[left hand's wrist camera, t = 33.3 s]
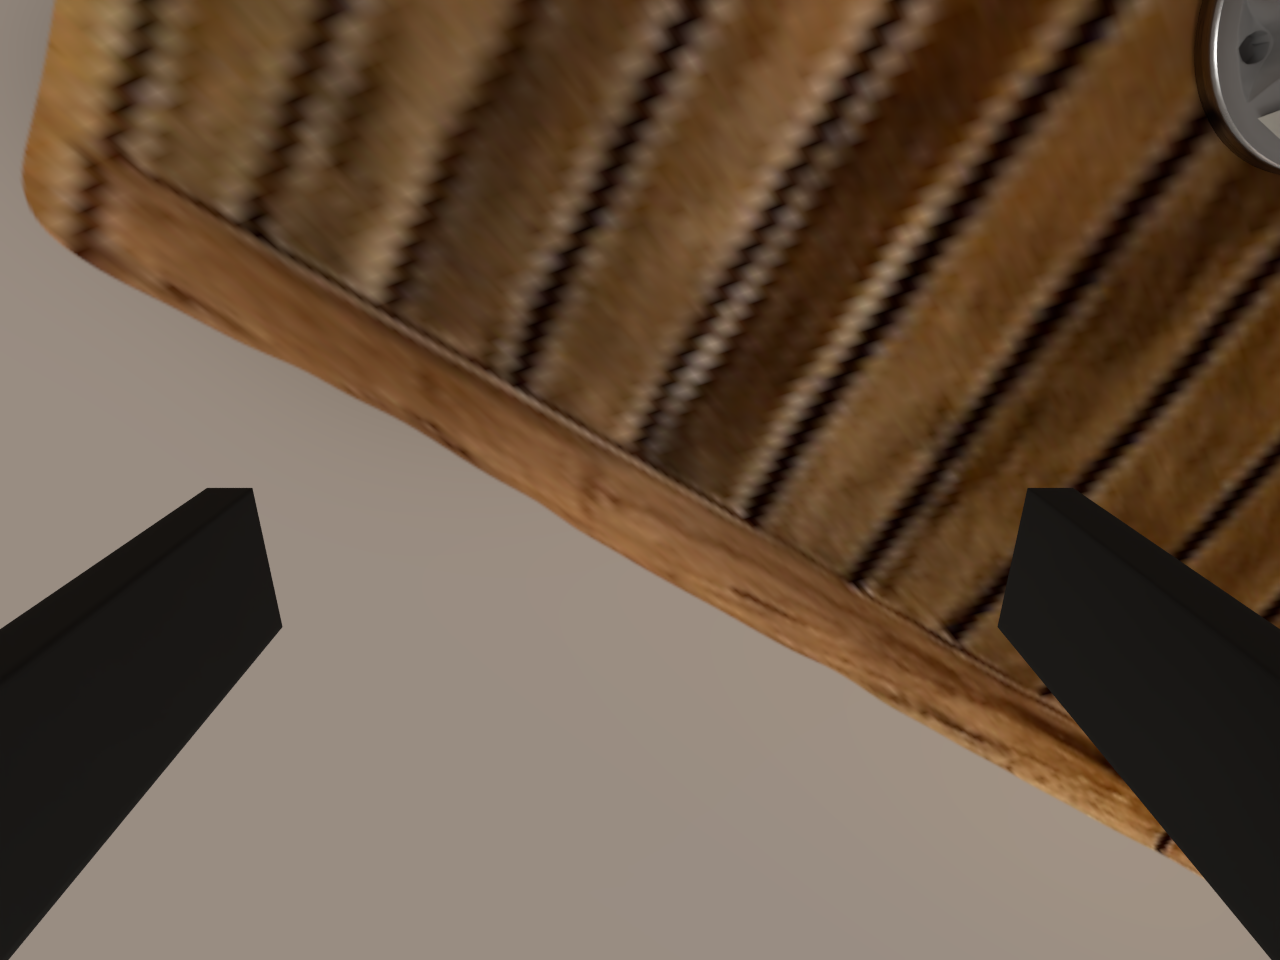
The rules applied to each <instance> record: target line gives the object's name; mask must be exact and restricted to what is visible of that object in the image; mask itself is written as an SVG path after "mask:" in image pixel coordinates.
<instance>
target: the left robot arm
mask: <svg viewBox="0 0 1280 960" xmlns="http://www.w3.org/2000/svg"><path fill="white" fill-rule="evenodd" d="M1195 74H1196V82H1197V88H1198V93H1199V97H1200V100H1201V103H1202V107H1203V109H1204V112H1205V114H1206V116H1207V119H1208V121H1209V123H1210V124H1211V126H1212V128H1213V129H1214V131H1215V133H1216V134H1217V135H1218V137H1219V138H1220V139H1221V140H1222V142H1223V143H1224V144H1225V145H1226V146H1227V147H1228V148H1229V149H1230V150H1231V151H1232V152H1233V153H1234V154H1236V155H1237V156H1238V157H1240V158H1241V159H1242V160H1244V161H1246V162H1248V163H1249V164H1251V165H1253V166H1255V167H1257V168H1260V169H1262V170H1265V171H1268V172H1272V173H1275V174H1279V175H1280V0H1203V2H1202V6H1201V9H1200V13H1199V19H1198V24H1197V30H1196V40H1195ZM281 628H282V623H281V618H280V614H279V609H278V604H277V600H276V595H275V590H274V586H273V581H272V577H271V572H270V567H269V563H268V558H267V554H266V549H265V544H264V540H263V535H262V530H261V526H260V521H259V517H258V512H257V507H256V503H255V498H254V494H253V489H252V488H206V489H205V490H204V491H202V492H201V493H199V494H198V495H196V496H195V497H193V498H192V499H190V500H189V501H187V502H186V503H184V504H183V505H182V506H180V507H179V508H177V509H176V510H174V511H173V512H171V513H170V514H168V515H167V516H165V517H164V518H162V519H161V520H160V521H158V522H157V523H155V524H154V525H152V526H151V527H149V528H148V529H146V530H145V531H143V532H142V533H141V534H139V535H138V536H136V537H135V538H133V539H132V540H130V541H129V542H127V543H126V544H124V545H123V546H121V547H120V548H119V549H117V550H116V551H114V552H113V553H111V554H110V555H108V556H107V557H105V558H104V559H102V560H101V561H99V562H98V563H97V564H95V565H94V566H92V567H91V568H89V569H88V570H86V571H85V572H83V573H82V574H80V575H79V576H78V577H76V578H75V579H73V580H72V581H70V582H69V583H67V584H66V585H64V586H63V587H61V588H60V589H58V590H57V591H56V592H54V593H53V594H51V595H50V596H48V597H47V598H45V599H44V600H42V601H41V602H39V603H38V604H37V605H35V606H34V607H32V608H31V609H29V610H28V611H26V612H25V613H23V614H22V615H20V616H19V617H18V618H16V619H15V620H13V621H12V622H10V623H9V624H7V625H6V626H4V627H3V628H1V629H0V960H9V958H10V957H11V956H12V955H13V954H14V952H15V951H16V950H17V949H18V948H19V946H20V945H21V944H22V943H23V941H24V940H25V939H26V938H27V937H28V935H29V934H30V933H31V932H32V931H33V929H34V928H35V927H36V926H37V924H38V923H39V922H40V921H41V920H42V918H43V917H44V916H45V915H46V914H47V912H48V911H49V910H50V909H51V907H52V906H53V905H54V904H55V903H56V901H57V900H58V899H59V898H60V897H61V895H62V894H63V893H64V892H65V890H66V889H67V888H68V887H69V886H70V884H71V883H72V882H73V881H74V880H75V878H76V877H77V876H78V875H79V873H80V872H81V871H82V870H83V869H84V867H85V866H86V865H87V864H88V862H89V861H90V860H91V859H92V858H93V856H94V855H95V854H96V853H97V852H98V850H99V849H100V848H101V847H102V845H103V844H104V843H105V842H106V841H107V839H108V838H109V837H110V836H111V835H112V833H113V832H114V831H115V830H116V828H117V827H118V826H119V825H120V824H121V822H122V821H123V820H124V819H125V817H126V816H127V815H128V814H129V813H130V811H131V810H132V809H133V808H134V807H135V805H136V804H137V803H138V802H139V801H140V799H141V798H142V797H143V796H144V794H145V793H146V792H147V791H148V790H149V788H150V787H151V786H152V785H153V784H154V782H155V781H156V780H157V779H158V777H159V776H160V775H161V774H162V772H163V771H164V770H165V769H166V768H167V767H168V765H169V764H170V763H171V762H172V760H173V759H174V758H175V757H176V756H177V754H178V753H179V752H180V751H181V749H182V748H183V747H184V746H185V745H186V743H187V742H188V741H189V740H190V739H191V737H192V736H193V735H194V734H195V732H196V731H197V730H198V729H199V728H200V726H201V725H202V724H203V723H204V722H205V720H206V719H207V718H208V717H209V715H210V714H211V713H212V712H213V711H214V709H215V708H216V707H217V706H218V705H219V703H220V702H221V701H222V700H223V698H224V697H225V696H226V695H227V694H228V692H229V691H230V690H231V689H232V687H233V686H234V685H235V684H236V683H237V681H238V680H239V679H240V678H241V677H242V675H243V674H244V673H245V672H246V671H247V669H248V668H249V667H250V666H251V664H252V663H253V662H254V661H255V660H256V658H257V657H258V656H259V655H260V654H261V652H262V651H263V650H264V649H265V647H266V646H267V645H268V644H269V643H270V641H271V640H272V639H273V638H274V636H275V635H276V634H277V633H278V632H279V630H280V629H281ZM998 628H999V629H1000V630H1001V632H1002V633H1003V634H1004V635H1005V637H1006V638H1007V639H1008V640H1009V641H1010V643H1011V644H1012V645H1013V646H1014V647H1015V649H1016V650H1017V651H1018V652H1019V654H1020V655H1021V656H1022V657H1023V658H1024V660H1025V661H1026V662H1027V663H1028V664H1029V666H1030V667H1031V668H1032V669H1033V671H1034V672H1035V673H1036V674H1037V675H1038V677H1039V678H1040V679H1041V680H1042V681H1043V683H1044V684H1045V685H1046V686H1047V688H1048V689H1049V690H1050V691H1051V692H1052V694H1053V695H1054V696H1055V697H1056V698H1057V700H1058V701H1059V702H1060V703H1061V705H1062V706H1063V707H1064V708H1065V709H1066V711H1067V712H1068V713H1069V714H1070V715H1071V717H1072V718H1073V719H1074V720H1075V722H1076V723H1077V724H1078V725H1079V726H1080V728H1081V729H1082V730H1083V731H1084V732H1085V734H1086V735H1087V736H1088V737H1089V739H1090V740H1091V741H1092V742H1093V743H1094V745H1095V746H1096V747H1097V748H1098V749H1099V751H1100V752H1101V753H1102V754H1103V756H1104V757H1105V758H1106V759H1107V760H1108V762H1109V763H1110V764H1111V765H1112V767H1113V768H1114V769H1115V770H1116V771H1117V773H1118V774H1119V775H1120V776H1121V777H1122V779H1123V780H1124V781H1125V782H1126V784H1127V785H1128V786H1129V787H1130V788H1131V790H1132V791H1133V792H1134V793H1135V794H1136V796H1137V797H1138V798H1139V799H1140V801H1141V802H1142V803H1143V804H1144V805H1145V807H1146V808H1147V809H1148V810H1149V811H1150V813H1151V814H1152V815H1153V816H1154V818H1155V819H1156V820H1157V821H1158V822H1159V824H1160V825H1161V826H1162V827H1163V828H1164V830H1165V831H1166V832H1167V833H1168V835H1169V836H1170V837H1171V838H1172V839H1173V841H1174V842H1175V843H1176V844H1177V845H1178V847H1179V848H1180V849H1181V850H1182V852H1183V853H1184V854H1185V855H1186V856H1187V858H1188V859H1189V860H1190V861H1191V862H1192V864H1193V865H1194V866H1195V867H1196V869H1197V870H1198V871H1199V872H1200V873H1201V875H1202V876H1203V877H1204V878H1205V880H1206V881H1207V882H1208V883H1209V884H1210V886H1211V887H1212V888H1213V889H1214V890H1215V892H1216V893H1217V894H1218V895H1219V896H1220V898H1221V899H1222V900H1223V901H1224V903H1225V904H1226V905H1227V906H1228V907H1229V909H1230V910H1231V911H1232V912H1233V914H1234V915H1235V916H1236V917H1237V918H1238V920H1239V921H1240V922H1241V923H1242V924H1243V926H1244V927H1245V928H1246V929H1247V930H1248V932H1249V933H1250V934H1251V935H1252V937H1253V938H1254V939H1255V940H1256V941H1257V943H1258V944H1259V945H1260V946H1261V948H1262V949H1263V950H1264V951H1265V952H1266V954H1267V955H1268V956H1269V957H1270V958H1271V960H1280V629H1279V628H1277V627H1276V626H1274V625H1273V624H1271V623H1270V622H1268V621H1267V620H1265V619H1264V618H1263V617H1261V616H1260V615H1258V614H1257V613H1255V612H1254V611H1252V610H1251V609H1249V608H1248V607H1246V606H1245V605H1243V604H1242V603H1241V602H1239V601H1238V600H1236V599H1235V598H1233V597H1232V596H1230V595H1229V594H1227V593H1226V592H1224V591H1223V590H1222V589H1220V588H1219V587H1217V586H1216V585H1214V584H1213V583H1211V582H1210V581H1208V580H1207V579H1205V578H1204V577H1202V576H1201V575H1200V574H1198V573H1197V572H1195V571H1194V570H1192V569H1191V568H1189V567H1188V566H1186V565H1185V564H1183V563H1182V562H1181V561H1179V560H1178V559H1176V558H1175V557H1173V556H1172V555H1170V554H1169V553H1167V552H1166V551H1164V550H1163V549H1161V548H1160V547H1159V546H1157V545H1156V544H1154V543H1153V542H1151V541H1150V540H1148V539H1147V538H1145V537H1144V536H1142V535H1141V534H1140V533H1138V532H1137V531H1135V530H1134V529H1132V528H1131V527H1129V526H1128V525H1126V524H1125V523H1123V522H1122V521H1120V520H1119V519H1118V518H1116V517H1115V516H1113V515H1112V514H1110V513H1109V512H1107V511H1106V510H1104V509H1103V508H1101V507H1100V506H1099V505H1097V504H1096V503H1094V502H1093V501H1091V500H1090V499H1088V498H1087V497H1085V496H1084V495H1082V494H1081V493H1079V492H1078V491H1077V490H1075V489H1074V488H1028V489H1027V494H1026V498H1025V503H1024V507H1023V512H1022V517H1021V521H1020V526H1019V530H1018V535H1017V540H1016V544H1015V549H1014V554H1013V558H1012V563H1011V567H1010V572H1009V577H1008V581H1007V586H1006V590H1005V595H1004V600H1003V604H1002V609H1001V614H1000V618H999V623H998Z"/></svg>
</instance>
